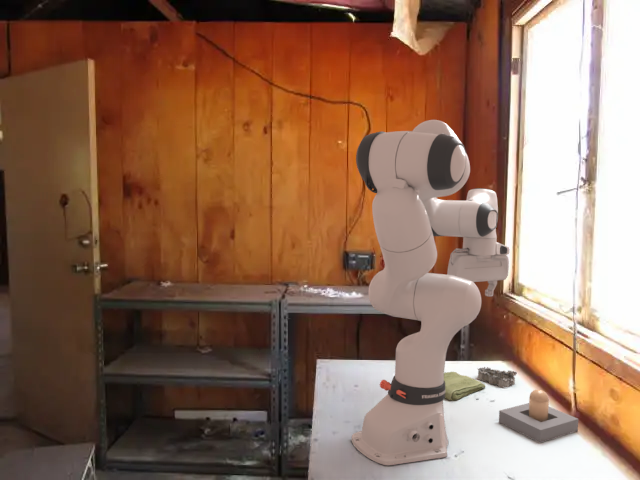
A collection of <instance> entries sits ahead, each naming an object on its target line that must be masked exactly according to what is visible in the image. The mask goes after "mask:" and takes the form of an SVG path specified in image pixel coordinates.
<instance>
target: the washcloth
mask: <svg viewBox="0 0 640 480" xmlns="http://www.w3.org/2000/svg"><path fill="white" fill-rule="evenodd" d="M444 381H445V391H446V392H445V398H444V399H446V400H448V401H452V402H453V401H456V400H459V399H463V398H465V397H468V396H469V395H471V394H474V393H475V392H478V391H480V390H482V389H484V388H486V385H485V384H484V383H482V381H481V380H477V379H474V378H472V377H470V376H468V375H464V374H463V375H462V374H459V373H458V372H456V371H448V372H445V371H444Z"/></svg>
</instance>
